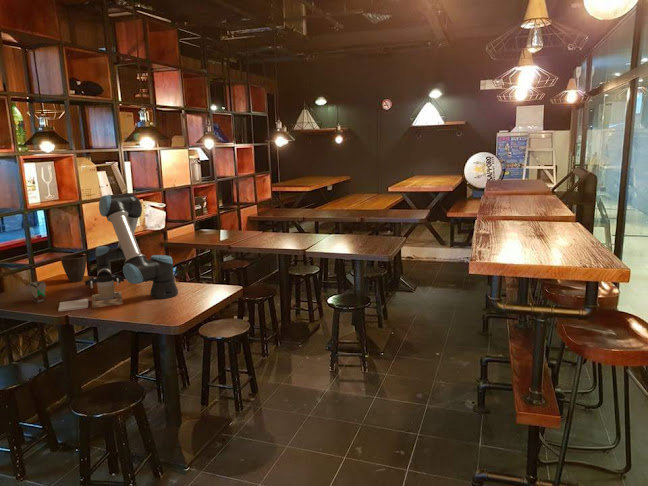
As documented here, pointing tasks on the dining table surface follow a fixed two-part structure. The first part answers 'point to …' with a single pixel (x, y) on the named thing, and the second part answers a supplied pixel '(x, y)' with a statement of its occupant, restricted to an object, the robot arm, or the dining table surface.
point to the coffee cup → (105, 287)
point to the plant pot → (74, 266)
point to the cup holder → (106, 302)
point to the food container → (38, 291)
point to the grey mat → (73, 305)
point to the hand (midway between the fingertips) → (104, 284)
